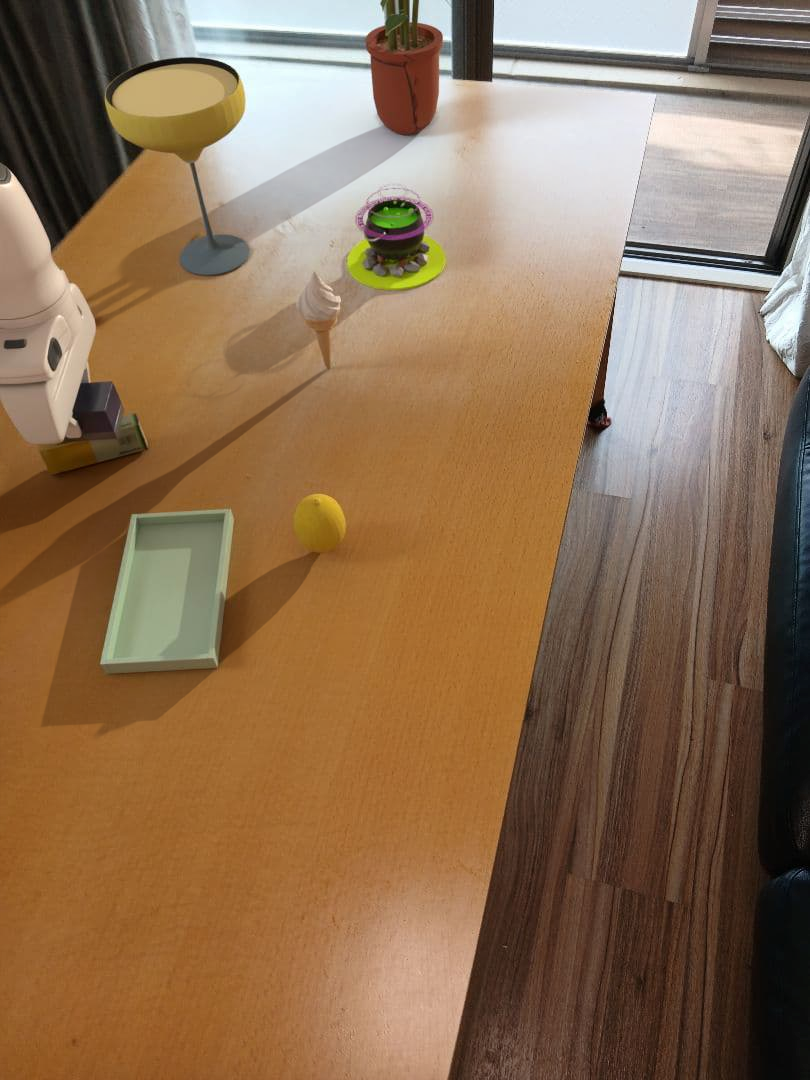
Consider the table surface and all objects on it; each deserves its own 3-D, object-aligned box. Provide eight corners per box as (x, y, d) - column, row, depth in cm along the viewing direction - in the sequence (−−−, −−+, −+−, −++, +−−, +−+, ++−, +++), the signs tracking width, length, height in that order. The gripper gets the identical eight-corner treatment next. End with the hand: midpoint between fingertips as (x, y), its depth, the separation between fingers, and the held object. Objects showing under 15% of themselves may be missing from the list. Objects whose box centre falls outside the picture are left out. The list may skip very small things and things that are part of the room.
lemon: (289, 545, 91) (278, 498, 84) (329, 519, 93) (321, 472, 87) (318, 575, 88) (309, 529, 82) (358, 548, 90) (352, 501, 84)
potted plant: (366, 114, 153) (349, -119, 125) (447, 104, 154) (448, -129, 126) (381, 160, 142) (366, -84, 114) (468, 149, 143) (474, -95, 116)
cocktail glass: (147, 293, 121) (89, 121, 101) (165, 226, 132) (116, 59, 112) (269, 287, 120) (235, 114, 101) (276, 220, 132) (247, 52, 112)
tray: (106, 674, 82) (99, 664, 80) (136, 525, 93) (131, 514, 92) (217, 668, 82) (213, 658, 80) (234, 519, 93) (230, 508, 92)
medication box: (146, 437, 102) (137, 411, 99) (149, 449, 100) (140, 424, 97) (48, 463, 100) (35, 437, 97) (49, 476, 98) (37, 451, 95)
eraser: (49, 443, 95) (33, 415, 91) (58, 413, 98) (43, 385, 94) (117, 439, 95) (104, 410, 91) (124, 409, 98) (112, 381, 94)
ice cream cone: (356, 361, 110) (345, 263, 98) (336, 387, 107) (323, 289, 95) (319, 350, 111) (305, 253, 99) (299, 376, 108) (282, 278, 96)
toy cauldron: (367, 226, 130) (362, 158, 121) (458, 241, 126) (459, 172, 117) (331, 280, 121) (323, 211, 112) (427, 298, 118) (426, 228, 109)
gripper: (27, 259, 90) (72, 358, 101) (-24, 383, 78) (33, 480, 89) (84, 256, 90) (123, 355, 101) (41, 379, 78) (91, 477, 89)
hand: (81, 414), depth 95 cm, fingers closed on eraser, 5 cm apart
